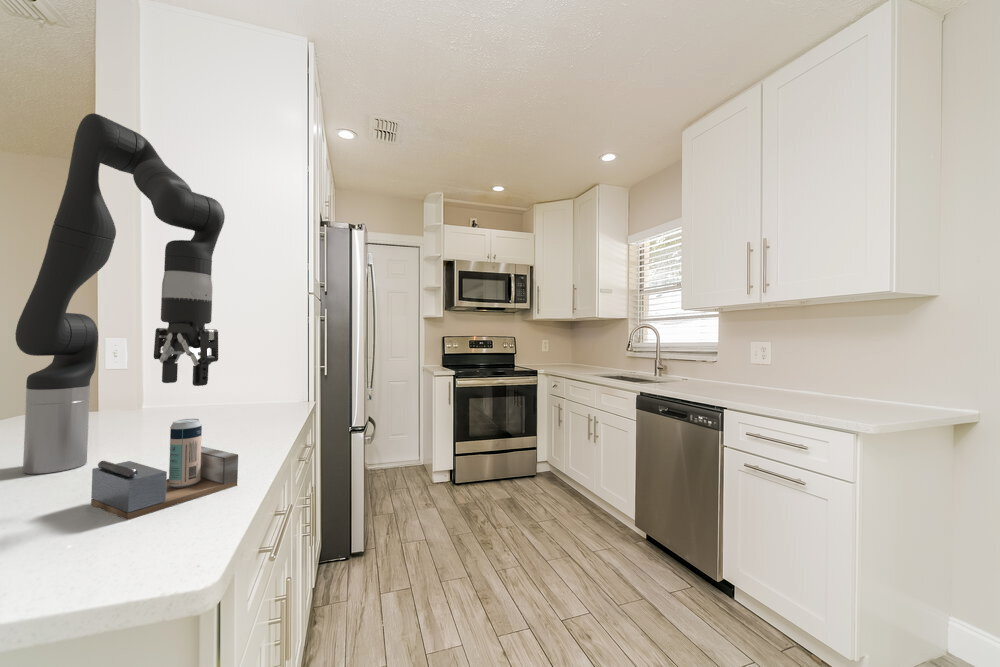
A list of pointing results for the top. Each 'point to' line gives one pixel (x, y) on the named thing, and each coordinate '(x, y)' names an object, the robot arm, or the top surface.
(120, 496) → the box
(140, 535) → the top surface
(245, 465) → the top surface
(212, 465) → the vise base
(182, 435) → the beer can
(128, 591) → the top surface
